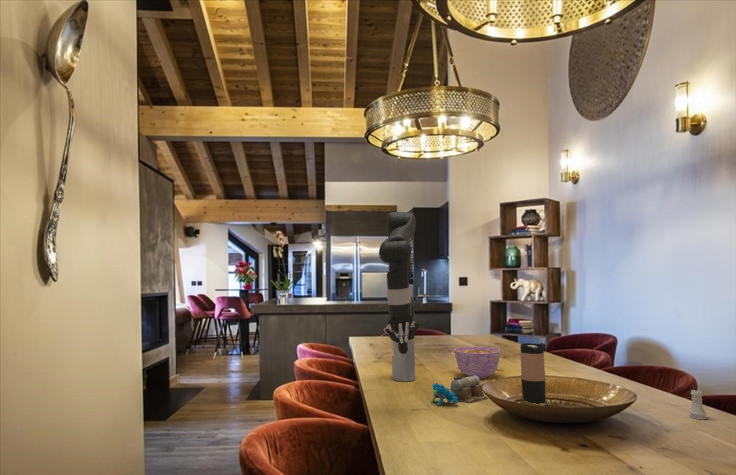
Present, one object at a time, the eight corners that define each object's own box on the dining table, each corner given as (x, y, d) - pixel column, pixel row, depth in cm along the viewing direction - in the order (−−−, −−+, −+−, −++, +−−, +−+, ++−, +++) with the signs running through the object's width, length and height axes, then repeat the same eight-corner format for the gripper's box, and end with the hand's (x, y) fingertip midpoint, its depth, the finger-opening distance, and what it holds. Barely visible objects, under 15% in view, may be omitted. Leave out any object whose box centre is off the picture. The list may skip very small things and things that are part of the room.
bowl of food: (465, 370, 219) (465, 345, 220) (508, 375, 207) (507, 348, 208) (446, 378, 203) (445, 350, 204) (491, 384, 191) (490, 354, 192)
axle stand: (466, 404, 161) (465, 379, 162) (445, 398, 169) (444, 375, 170) (488, 398, 168) (487, 375, 169) (467, 393, 176) (466, 371, 177)
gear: (465, 401, 159) (445, 381, 157) (456, 416, 156) (436, 396, 155) (446, 398, 168) (427, 380, 167) (437, 412, 166) (418, 394, 164)
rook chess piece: (704, 416, 144) (702, 389, 145) (709, 420, 140) (707, 393, 141) (687, 415, 146) (685, 388, 146) (691, 419, 142) (690, 392, 142)
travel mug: (528, 400, 165) (526, 342, 166) (550, 404, 159) (547, 344, 161) (518, 405, 159) (515, 345, 161) (539, 409, 154) (537, 347, 156)
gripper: (411, 297, 162) (415, 347, 162) (376, 302, 157) (380, 354, 157) (422, 300, 155) (426, 352, 156) (386, 306, 150) (390, 360, 150)
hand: (403, 353), depth 156 cm, fingers closed
